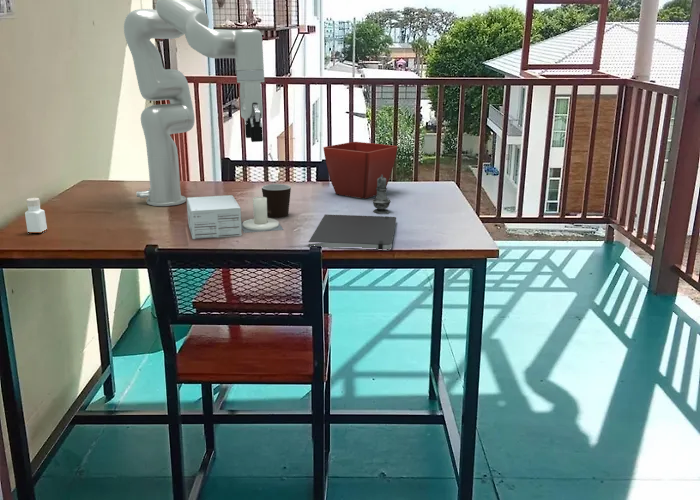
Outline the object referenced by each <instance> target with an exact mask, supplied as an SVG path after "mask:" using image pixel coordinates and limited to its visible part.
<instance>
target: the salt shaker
mask: <svg viewBox="0 0 700 500" xmlns="http://www.w3.org/2000/svg"><path fill="white" fill-rule="evenodd" d="M25 200H26V207H27V209H28V210H26V211H25V212H24V215H25V222H26V231H27V233H28V232H42V231H44V230H46V229H47V230H48V226H47V218H46V213H45V212H46V211H45V210H44V209H41V200H40V198H39V197H29V198H27V199H25Z"/></svg>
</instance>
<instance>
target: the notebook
mask: <svg viewBox="0 0 700 500" xmlns="http://www.w3.org/2000/svg"><path fill="white" fill-rule="evenodd" d="M396 222H397V217H396V216H388V215H387V216H382V215H380V216H379V215H378V216H377V215H352V214H347V215H346V214H324V215H323V217H322V218H321V220H320V222H319V224H318V226H317V227H316V229H315V230H314V232H313V234H312V235H311V237H310V238H309V240H308V248H311V247H310V246H314V245H315V246H322V247H362V248H376V249H390V248H391V249H392V247H391V246H393V241H394V240H393V239H394V236H393V235H394V234H395V230H394V229H396V224H397V223H396Z"/></svg>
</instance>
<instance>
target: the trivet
mask: <svg viewBox="0 0 700 500" xmlns="http://www.w3.org/2000/svg"><path fill="white" fill-rule="evenodd" d="M243 222H244V221H241V231H242V232H243V233H244V234H247V233H258V232H259V233H261V232H264V231H252V230H247V229H244V228H243ZM274 231H285V230H284V228H283V227H282V225H281V224H280V223H279V226H278V227H277V228H275V229H272V230H266V231H265V232H274Z"/></svg>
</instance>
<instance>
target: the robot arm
mask: <svg viewBox="0 0 700 500" xmlns="http://www.w3.org/2000/svg"><path fill="white" fill-rule="evenodd" d="M205 8H206V7H205V5H204V4H203V2H202V0H157V1H156V3H155V9H151V8H149V9H148V8H141V9H140V8H139V9H134V10H132V11H130V12H129V13H128V14H127V15H126V17H125V19H124V24H123V34H124V37H125V41H126V44H127V46H128V49H129V52H130V54H131V56H132V61H133V65H134V71H135V75H136V80H137V84H138V85H137V86H138V90H139V93H140V95H141V97H142V99H144V100H146V101H151V102H152V101H168V100H169V103H164V104H161V103H160V104H153V105H150V106H147V107H145V108H144V109H143V110H142V112H141V114H140V123H141V126H142V127H141V128H142V131H143V135H144V139H145V146H146V155H147V165H148V174H149V175H148V178H149V188H148V189H146V190H144V191H142V190H139V191H138V190H137V191H136V198H140V199H143V198H144V199H145V198H146V204H147V205H149V206H154V207H171V206H178V205H181V204H184V203H186V202H187V197H186V196H185V195H182V194H181V193H182V192H181V180H180V167H179V166H180V165H179V155H178V153H179V152H178V147H177V144H176V142H175V141H174V140H173V138H172V136H171V135H173V134H181V133H188V132H189V131H190V130H192V129H193V127H194V125H195V111H194V106H193V101H192V96H191V91H190V85H189V82H188V80H187V77H186V76H185V75H184V74H183V72H182V71H180V70H178V69H174V68H169V69H165V67H164V64H163V61H162V56H161V53H160V52H159V50H158V48H157V47H156V46H155V44H154V43H153V42H152V41H151V39H153V40H155V39H158V40H159V39H160V40H161V39H162V40H165V39H167V40H173V39H179V38H180V37H182V36H184V37H185V38H186V42H187V44H188V45H189V46H190V48H192V49H193V50H194V51H196V52H197V53H199V54H201V55H202V56H205V57H207V58H209V59H235V71H236V72H235V73H236V83H238V84H239V85H240V86H239V99H240V104H239V105H240V117H241V118H242V119H243V120H244V131H245V132H244V133H245V138H246V139H250V141H251V142H252V143H256V142H257V143H258V142H264V136H263V135H264V134H263V124H262V118H263V117H264V116H263V96H262V95H263V94H262V84H261V83H265V70H264V69H265V68H264V67H265V66H264V49H263V48H264V47H263V35H262V31H260V30H259V29H252V28H251V29H250V28H249V29H247V28H246V29H219V28H217V29H214V28H209V23H210V21H209V20H210V19H209V16H208V13H206V9H205Z"/></svg>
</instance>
